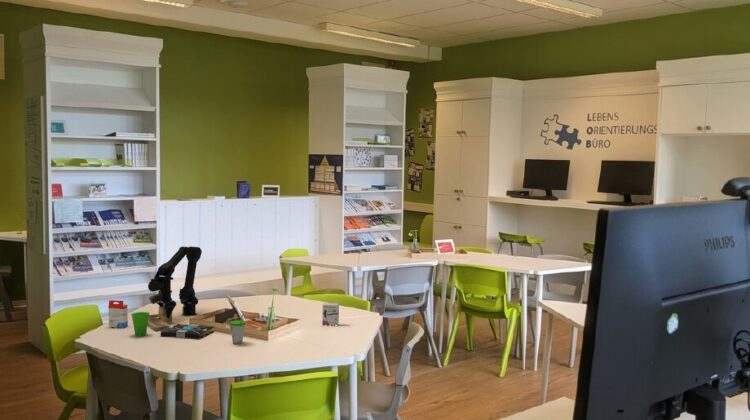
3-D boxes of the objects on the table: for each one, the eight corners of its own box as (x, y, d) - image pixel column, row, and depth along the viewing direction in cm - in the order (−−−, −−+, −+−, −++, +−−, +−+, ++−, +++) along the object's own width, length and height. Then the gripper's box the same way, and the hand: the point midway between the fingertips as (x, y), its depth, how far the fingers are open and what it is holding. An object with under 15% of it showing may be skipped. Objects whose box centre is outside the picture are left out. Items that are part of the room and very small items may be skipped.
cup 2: (227, 341, 323) (227, 311, 322) (243, 340, 326) (243, 310, 326) (231, 345, 316) (231, 314, 315) (247, 344, 319) (247, 313, 318)
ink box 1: (128, 326, 353) (127, 299, 352) (123, 328, 348) (123, 300, 347) (112, 325, 354) (112, 298, 353) (108, 327, 349) (108, 300, 348)
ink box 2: (322, 325, 360) (322, 304, 359) (323, 323, 365) (323, 302, 364) (337, 326, 359) (337, 304, 358) (338, 324, 364) (339, 302, 363)
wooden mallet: (169, 319, 369) (169, 305, 368) (172, 321, 365) (172, 307, 364) (144, 322, 361) (144, 308, 361) (147, 324, 357) (147, 310, 357)
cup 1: (154, 334, 336) (153, 312, 336) (140, 338, 328) (140, 316, 327) (140, 332, 340) (140, 311, 339) (127, 336, 332) (126, 314, 331)
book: (159, 337, 332) (159, 327, 332) (177, 329, 348) (177, 320, 348) (199, 340, 327) (199, 330, 327) (215, 332, 343) (215, 323, 343)
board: (156, 320, 367) (156, 316, 367) (170, 329, 347) (170, 325, 347) (141, 322, 363) (141, 318, 363) (155, 331, 342) (155, 327, 342)
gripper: (145, 287, 367) (145, 315, 368) (155, 292, 352) (155, 321, 353) (165, 285, 374) (165, 313, 374) (176, 290, 358) (176, 319, 359)
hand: (165, 316), depth 365 cm, fingers open, 9 cm apart
